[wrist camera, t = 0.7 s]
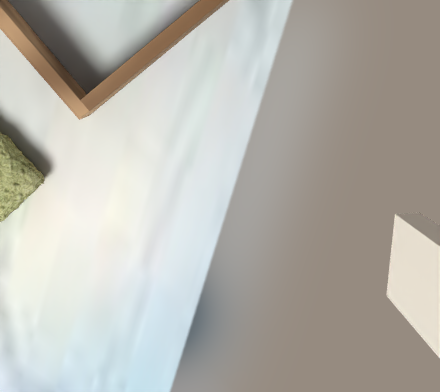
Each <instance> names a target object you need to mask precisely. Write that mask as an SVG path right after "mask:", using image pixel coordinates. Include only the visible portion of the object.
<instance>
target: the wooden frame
mask: <svg viewBox="0 0 440 392" xmlns="http://www.w3.org/2000/svg"><path fill="white" fill-rule="evenodd" d="M228 1H229V0H200V1H199V2H197V3H196V4H195V5H194V6H193V7H191V8H190V9H189V10H188V11H187V12H185V13H184V14H183V15H182V16H181V17H179V18H178V19H177V20H176V21H175V22H173V23H172V24H171V25H170V26H169V27H167V28H166V29H165V30H164V31H163V32H161V33H160V34H159V35H158V36H157V37H155V38H154V39H153V40H152V41H151V42H149V43H148V44H147V45H146V46H145V47H143V48H142V49H141V50H140V51H139V52H137V53H136V54H135V55H134V56H133V57H131V58H130V59H129V60H128V61H127V62H125V63H124V64H123V65H122V66H121V67H119V68H118V69H117V70H116V71H115V72H113V73H112V74H111V75H110V76H109V77H107V78H106V79H105V80H104V81H103V82H101V83H100V84H99V85H98V86H97V87H95V88H94V89H93V90H92V91H91V92H89V93H88V94H86V92H85V91H84V90H83V89H82V88H81V87H80V85H79V84H78V83H77V82H76V81H75V79H74V78H73V77H72V76H71V75H70V74H69V72H68V71H67V70H66V69H65V68H64V66H63V65H62V64H61V63H60V62H59V61H58V59H57V58H56V57H55V56H54V55H53V53H52V52H51V51H50V50H49V49H48V47H47V46H46V45H45V44H44V43H43V42H42V40H41V39H40V38H39V37H38V36H37V34H36V33H35V32H34V31H33V30H32V29H31V27H30V26H29V25H28V24H27V23H26V21H25V20H24V19H23V18H22V17H21V16H20V14H19V13H18V12H17V11H16V10H15V8H14V7H13V6H12V5H11V4H10V3H9V1H8V0H0V29H1V30H2V31H3V32H4V33H5V35H6V36H7V37H8V38H9V39H10V40H11V42H12V43H13V44H14V45H15V46H16V47H17V48H18V50H19V51H20V52H21V53H22V54H23V55H24V56H25V58H26V59H27V60H28V61H29V62H30V63H31V65H32V66H33V67H34V68H35V69H36V70H37V71H38V73H39V74H40V75H41V76H42V77H43V78H44V80H45V81H46V82H47V83H48V84H49V85H50V86H51V88H52V89H53V90H54V91H55V92H56V93H57V95H58V96H59V97H60V98H61V99H62V100H63V101H64V103H65V104H66V105H67V106H68V107H69V108H70V110H71V111H72V112H73V113H74V114H75V115H76V116H77V118H78V119H79V120H80V119H82V118H85V117H87V116H89V115H91V114H92V113H93V112H94V111H95V110H97V109H98V108H99V107H100V106H101V105H103V104H104V103H105V102H106V101H108V100H109V99H110V98H111V97H112V96H114V95H115V94H116V93H117V92H118V91H120V90H121V89H122V88H123V87H125V86H126V85H127V84H128V83H129V82H131V81H132V80H133V79H134V78H135V77H137V76H138V75H139V74H140V73H142V72H143V71H144V70H145V69H146V68H148V67H149V66H150V65H151V64H152V63H154V62H155V61H156V60H157V59H159V58H160V57H161V56H162V55H163V54H165V53H166V52H167V51H168V50H169V49H171V48H172V47H173V46H174V45H176V44H177V43H178V42H179V41H180V40H182V39H183V38H184V37H185V36H186V35H188V34H189V33H190V32H191V31H192V30H194V29H195V28H196V27H197V26H199V25H200V24H201V23H202V22H203V21H205V20H206V19H207V18H208V17H209V16H211V15H212V14H213V13H214V12H216V11H217V10H218V9H219V8H220V7H222V6H223V5H224V4H225V3H226V2H228Z"/></svg>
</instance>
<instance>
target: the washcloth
mask: <svg viewBox="0 0 440 392" xmlns="http://www.w3.org/2000/svg"><path fill="white" fill-rule="evenodd" d="M22 154H23V153H22V151H20V150H19V149H18V148H17V147H16V146H15V144H14V143H13V142H12V140H11V138H9V137H8V135H3V134H2V133H1V132H0V222H1V221H4V220H5V219H6V218H7V217H8V215H9V214H10V213H11V212H13V211H14V210H16V209H17V208H18V207H19V205H20V204H21V203H22V202H23V200H24V199H27V197H28V196H30V195H31V194H32V193H33V192H34V191H35V190H36V189H37V188H38V187H39V185H41V184H42V183H43V184H44V176H43V175H42V174H41V171H38V170H37V169H36V167H35V166H34V165H33V163H32V162H30V161H29V160H28V159H27V158H26V157H25V156H24V155H22Z"/></svg>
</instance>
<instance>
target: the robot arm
mask: <svg viewBox="0 0 440 392" xmlns="http://www.w3.org/2000/svg"><path fill="white" fill-rule="evenodd" d="M387 297H388V298H389V299H390V300H391V301H392V303H393V304H394V305H395V306H396V307H397V308H398V310H399V311H400V312H401V313H402V314H403V316H404V317H405V318H406V319H407V320H408V321H409V323H410V324H411V325H412V326H413V327H414V329H415V330H416V331H417V332H418V333H419V334H420V336H421V337H422V338H423V339H424V340H425V341H426V343H427V344H428V345H429V346H430V347H431V349H432V350H433V351H434V352H435V353H436V354H437V356H438V357H439V358H440V225H438V224H437V223H435V222H434V221H432V220H431V219H429V218H428V217H426V216H424V215H423V214H421V213H404V214H395V220H394V231H393V239H392V249H391V258H390V268H389V277H388V287H387Z"/></svg>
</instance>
